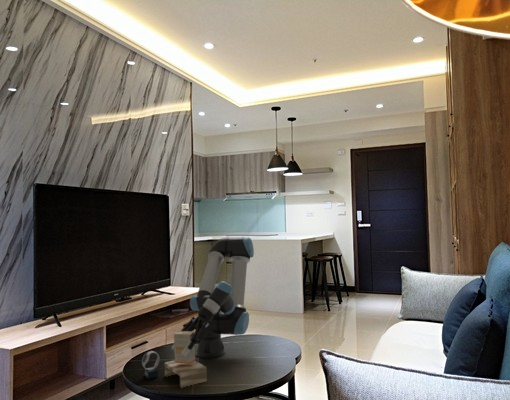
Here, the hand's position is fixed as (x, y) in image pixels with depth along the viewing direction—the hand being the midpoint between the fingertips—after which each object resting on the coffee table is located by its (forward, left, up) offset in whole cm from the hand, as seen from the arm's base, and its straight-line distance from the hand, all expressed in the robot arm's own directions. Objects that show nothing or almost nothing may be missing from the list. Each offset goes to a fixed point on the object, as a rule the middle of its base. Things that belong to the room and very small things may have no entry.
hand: (178, 352), depth 178 cm
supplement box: (0, +3, -5) cm, 6 cm away
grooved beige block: (0, +3, -12) cm, 13 cm away
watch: (-13, -8, -12) cm, 20 cm away
